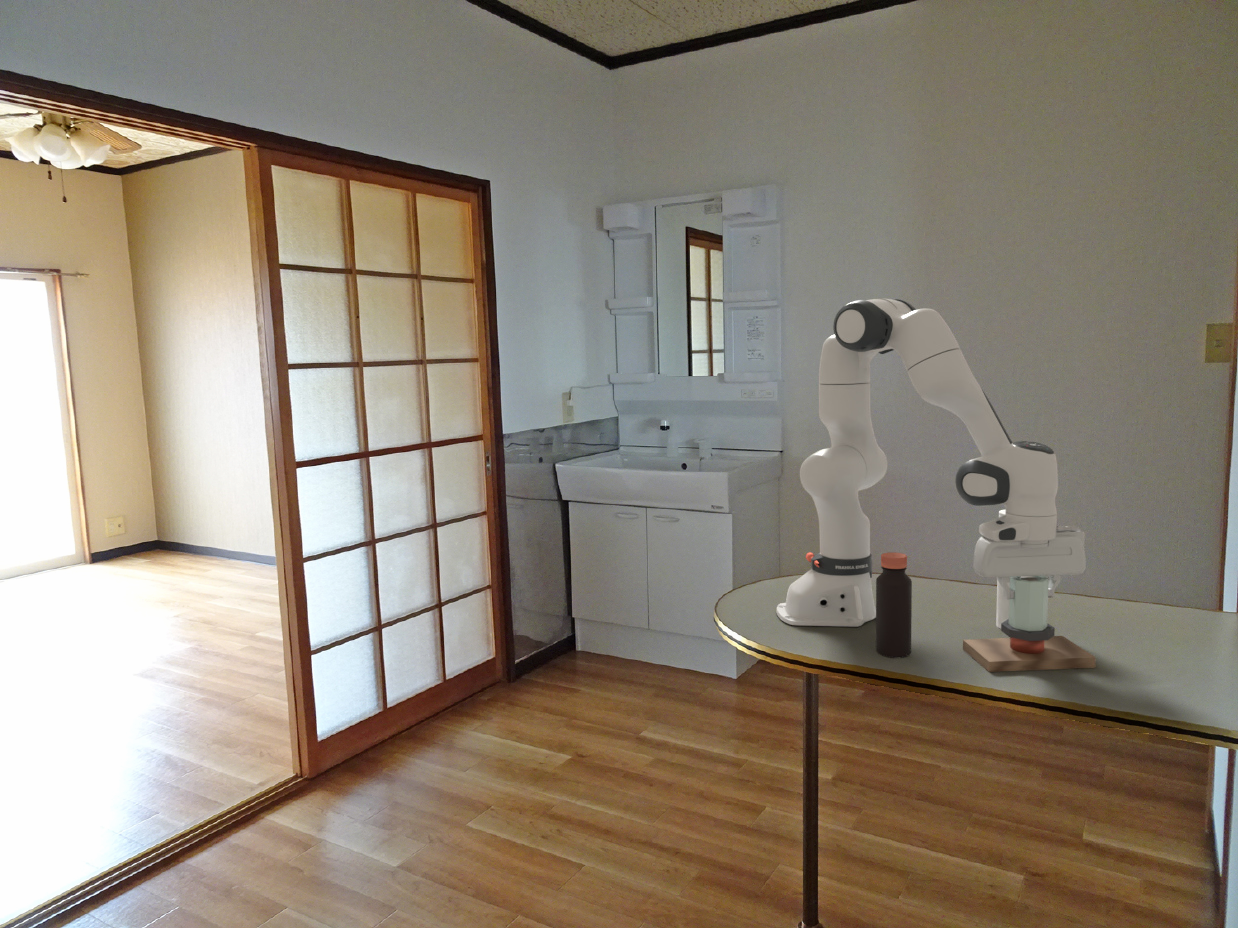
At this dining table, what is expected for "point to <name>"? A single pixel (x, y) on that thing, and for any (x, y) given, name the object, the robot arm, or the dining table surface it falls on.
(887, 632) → the bottle
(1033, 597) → the sleeve
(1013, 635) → the o ring
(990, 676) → the dining table surface
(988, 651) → the pipe stand
